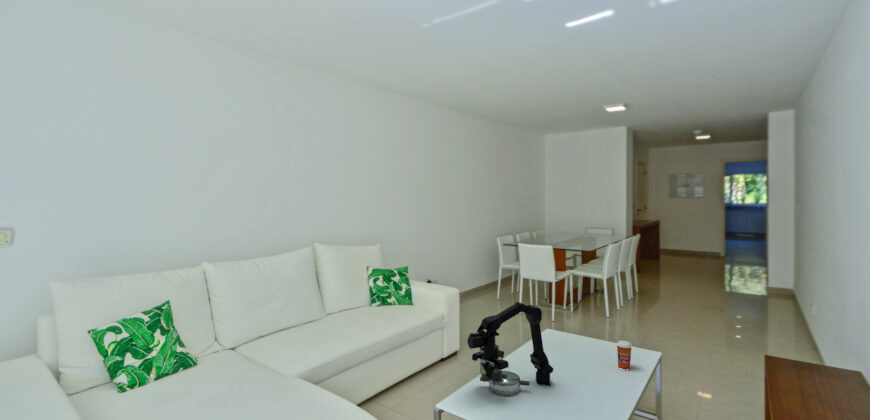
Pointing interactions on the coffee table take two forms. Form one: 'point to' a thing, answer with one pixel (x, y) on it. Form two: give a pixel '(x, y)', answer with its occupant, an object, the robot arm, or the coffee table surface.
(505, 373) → the lid
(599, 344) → the coffee table surface
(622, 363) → the paper cup
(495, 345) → the coffee can
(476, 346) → the robot arm
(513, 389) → the pot
